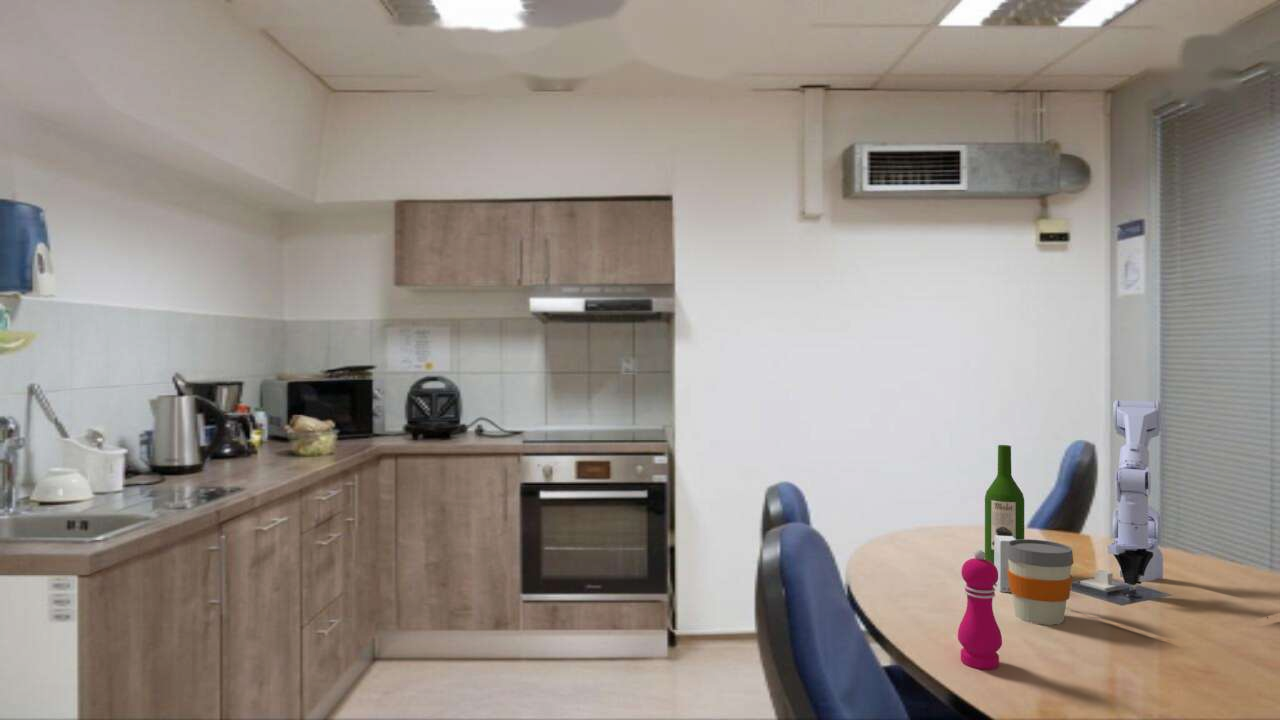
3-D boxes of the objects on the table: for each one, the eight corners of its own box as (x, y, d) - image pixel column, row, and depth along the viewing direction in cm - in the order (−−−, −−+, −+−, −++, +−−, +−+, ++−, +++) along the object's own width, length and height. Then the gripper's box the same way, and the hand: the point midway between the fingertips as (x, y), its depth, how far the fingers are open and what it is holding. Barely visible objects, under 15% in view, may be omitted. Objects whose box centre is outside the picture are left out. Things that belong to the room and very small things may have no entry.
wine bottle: (985, 578, 188) (985, 446, 188) (984, 569, 196) (984, 443, 196) (1026, 582, 185) (1026, 448, 185) (1022, 573, 193) (1022, 444, 193)
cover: (1102, 582, 181) (1102, 566, 181) (1127, 589, 176) (1127, 573, 176) (1080, 586, 178) (1080, 570, 178) (1105, 593, 172) (1105, 577, 172)
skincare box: (1019, 593, 176) (1020, 541, 176) (1000, 592, 177) (1000, 540, 177) (1012, 585, 182) (1012, 535, 182) (993, 584, 183) (993, 534, 183)
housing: (1103, 581, 186) (1103, 573, 186) (1173, 600, 171) (1173, 591, 171) (1053, 590, 178) (1053, 582, 178) (1121, 610, 164) (1121, 601, 164)
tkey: (1114, 587, 175) (1114, 567, 175) (1146, 596, 169) (1146, 575, 169) (1110, 588, 174) (1110, 568, 174) (1142, 597, 168) (1142, 576, 168)
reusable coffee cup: (1047, 632, 151) (1047, 556, 151) (992, 613, 162) (992, 542, 162) (1087, 622, 157) (1087, 549, 157) (1031, 604, 168) (1031, 536, 168)
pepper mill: (950, 655, 139) (950, 545, 139) (988, 654, 139) (988, 544, 139) (970, 671, 132) (970, 555, 132) (1010, 670, 132) (1010, 554, 132)
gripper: (1135, 516, 177) (1135, 574, 177) (1094, 521, 171) (1094, 582, 171) (1167, 522, 171) (1167, 582, 171) (1125, 528, 165) (1125, 590, 165)
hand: (1132, 583), depth 171 cm, fingers closed on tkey
